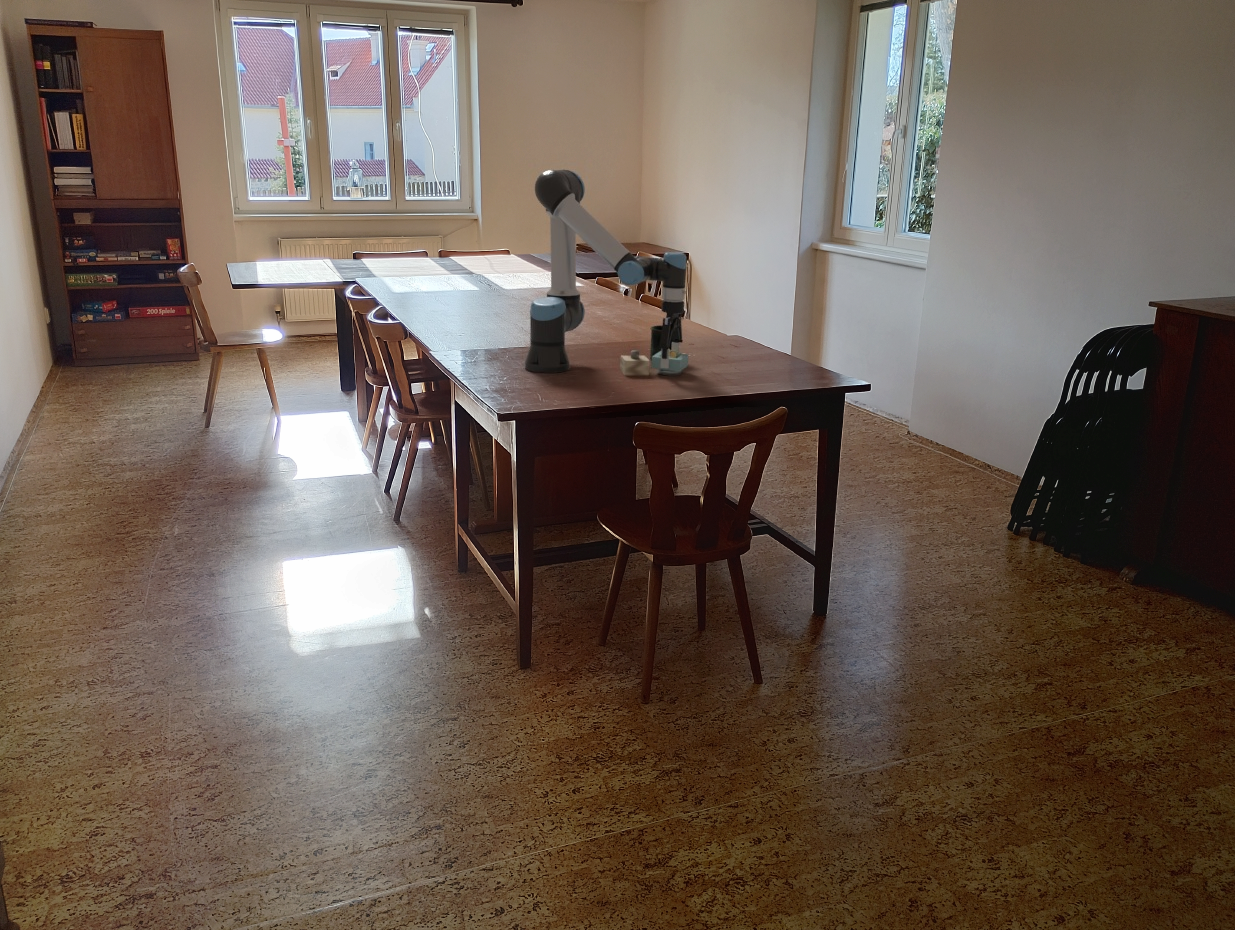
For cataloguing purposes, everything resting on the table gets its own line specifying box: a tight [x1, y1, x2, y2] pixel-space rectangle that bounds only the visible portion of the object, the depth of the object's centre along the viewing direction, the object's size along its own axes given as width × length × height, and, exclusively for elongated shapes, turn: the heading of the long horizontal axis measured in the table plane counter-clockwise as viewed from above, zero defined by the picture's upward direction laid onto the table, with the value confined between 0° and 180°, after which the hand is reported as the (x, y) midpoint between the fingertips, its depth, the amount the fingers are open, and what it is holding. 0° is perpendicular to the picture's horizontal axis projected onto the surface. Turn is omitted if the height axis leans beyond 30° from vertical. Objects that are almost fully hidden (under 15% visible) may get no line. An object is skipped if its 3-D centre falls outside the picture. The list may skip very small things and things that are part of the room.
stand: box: [619, 349, 651, 376], centre depth 320 cm, size 8×8×7 cm
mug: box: [649, 324, 673, 362], centre depth 340 cm, size 11×15×12 cm
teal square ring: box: [650, 351, 689, 372], centre depth 321 cm, size 10×10×4 cm
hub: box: [657, 350, 682, 377], centre depth 321 cm, size 8×8×8 cm
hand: (669, 364), depth 321 cm, fingers open, 11 cm apart
